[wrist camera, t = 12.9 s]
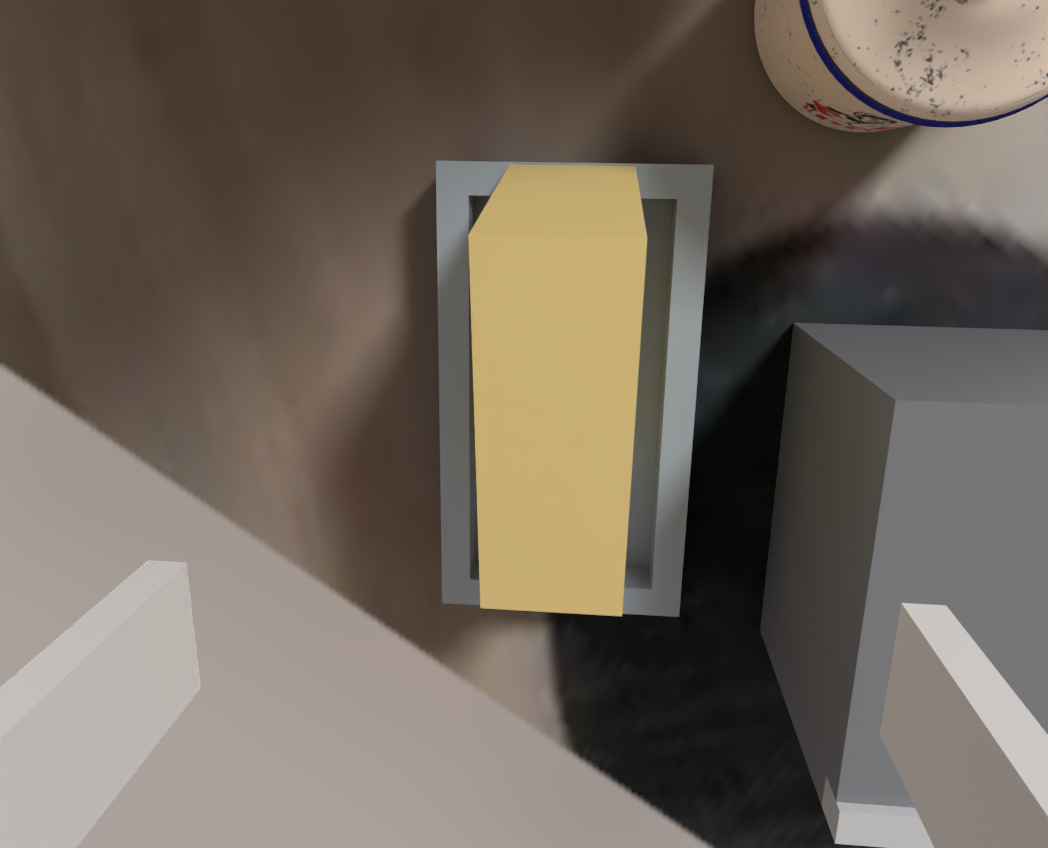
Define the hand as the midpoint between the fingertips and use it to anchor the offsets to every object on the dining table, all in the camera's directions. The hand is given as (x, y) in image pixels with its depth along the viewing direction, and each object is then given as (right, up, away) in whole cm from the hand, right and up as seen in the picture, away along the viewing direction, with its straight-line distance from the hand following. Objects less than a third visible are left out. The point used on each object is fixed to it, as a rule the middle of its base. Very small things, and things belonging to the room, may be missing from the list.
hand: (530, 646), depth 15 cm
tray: (+2, +6, +20) cm, 21 cm away
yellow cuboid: (+2, +8, +17) cm, 19 cm away
